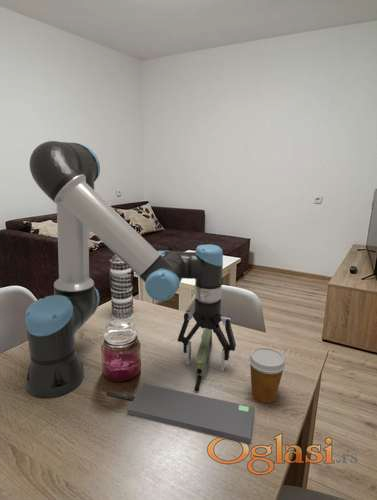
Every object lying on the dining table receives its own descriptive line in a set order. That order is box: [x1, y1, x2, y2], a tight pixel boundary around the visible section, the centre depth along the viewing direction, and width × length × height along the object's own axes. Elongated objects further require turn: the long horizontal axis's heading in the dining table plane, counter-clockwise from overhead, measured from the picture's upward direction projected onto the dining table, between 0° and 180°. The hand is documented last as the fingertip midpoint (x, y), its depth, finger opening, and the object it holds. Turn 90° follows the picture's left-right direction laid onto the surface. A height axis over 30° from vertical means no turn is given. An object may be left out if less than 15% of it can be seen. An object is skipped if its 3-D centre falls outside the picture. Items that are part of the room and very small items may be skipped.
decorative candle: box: [108, 254, 134, 321], centre depth 128 cm, size 9×9×25 cm
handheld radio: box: [193, 328, 213, 393], centre depth 100 cm, size 7×3×25 cm
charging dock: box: [106, 383, 255, 444], centre depth 83 cm, size 38×10×2 cm, turn 74°
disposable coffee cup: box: [248, 346, 287, 404], centre depth 87 cm, size 10×10×12 cm
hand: (205, 365), depth 101 cm, fingers open, 10 cm apart
